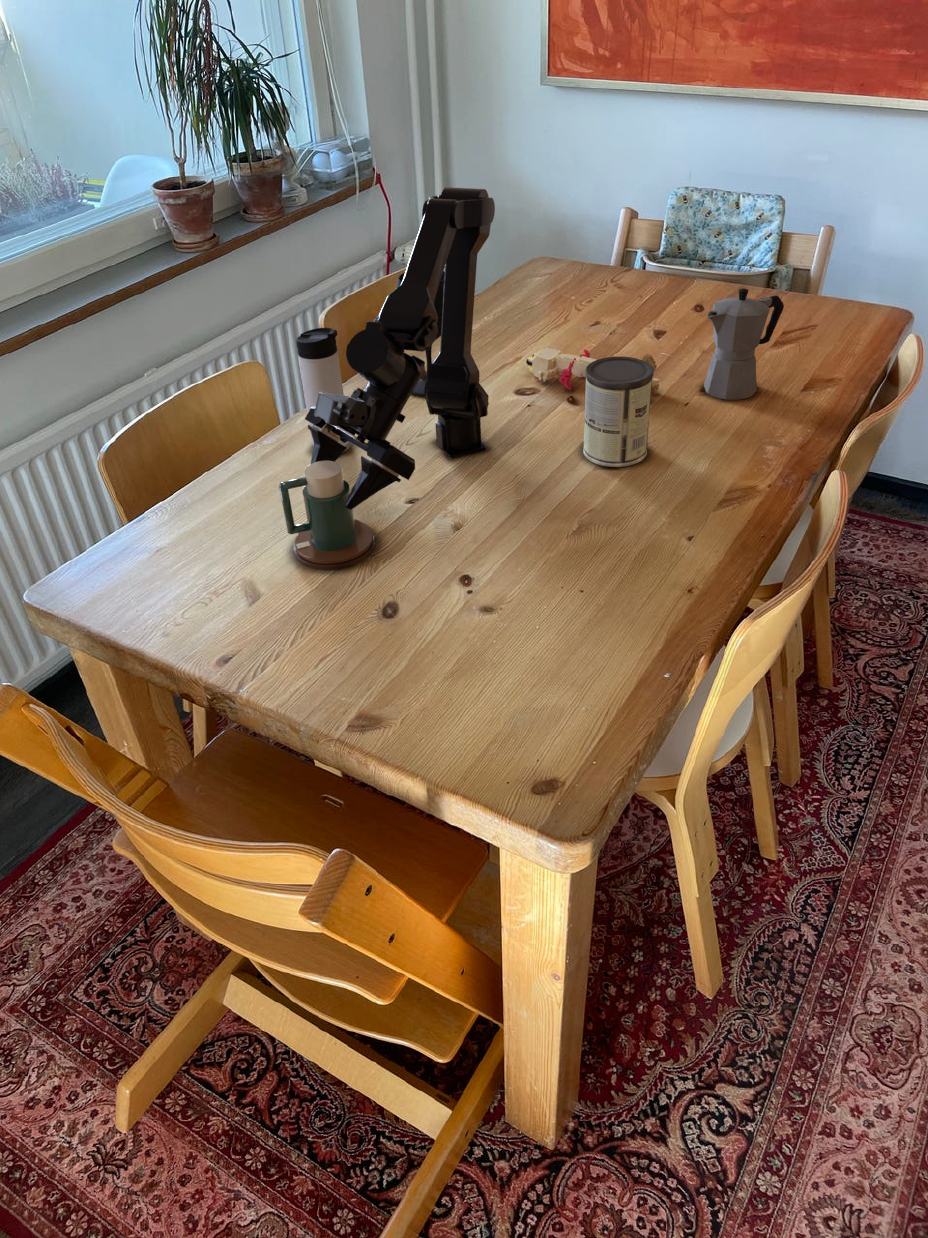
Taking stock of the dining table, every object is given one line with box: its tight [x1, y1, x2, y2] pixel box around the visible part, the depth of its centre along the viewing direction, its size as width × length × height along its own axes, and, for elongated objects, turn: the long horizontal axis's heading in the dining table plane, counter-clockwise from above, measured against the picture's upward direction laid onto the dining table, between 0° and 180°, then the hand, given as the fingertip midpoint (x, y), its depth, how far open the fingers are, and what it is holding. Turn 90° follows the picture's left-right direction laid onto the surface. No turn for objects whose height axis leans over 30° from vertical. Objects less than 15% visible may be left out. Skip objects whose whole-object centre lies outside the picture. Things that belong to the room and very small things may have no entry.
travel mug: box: [295, 327, 351, 454], centre depth 151 cm, size 6×7×20 cm
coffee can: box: [582, 356, 655, 468], centre depth 147 cm, size 10×10×14 cm
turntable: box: [292, 531, 377, 571], centre depth 133 cm, size 12×12×1 cm
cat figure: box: [524, 347, 660, 396], centre depth 169 cm, size 10×9×25 cm
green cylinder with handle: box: [278, 461, 373, 564], centre depth 129 cm, size 12×11×12 cm
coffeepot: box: [703, 287, 785, 401], centre depth 162 cm, size 15×9×18 cm, turn 113°
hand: (328, 495), depth 128 cm, fingers open, 9 cm apart
